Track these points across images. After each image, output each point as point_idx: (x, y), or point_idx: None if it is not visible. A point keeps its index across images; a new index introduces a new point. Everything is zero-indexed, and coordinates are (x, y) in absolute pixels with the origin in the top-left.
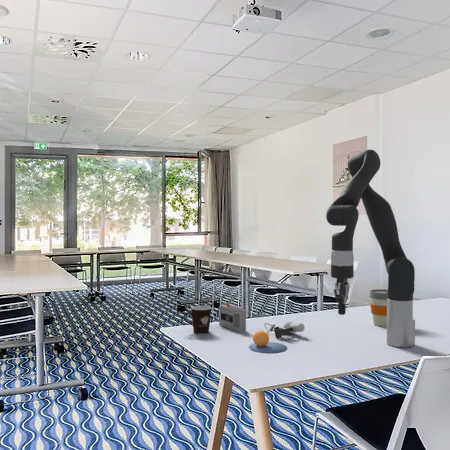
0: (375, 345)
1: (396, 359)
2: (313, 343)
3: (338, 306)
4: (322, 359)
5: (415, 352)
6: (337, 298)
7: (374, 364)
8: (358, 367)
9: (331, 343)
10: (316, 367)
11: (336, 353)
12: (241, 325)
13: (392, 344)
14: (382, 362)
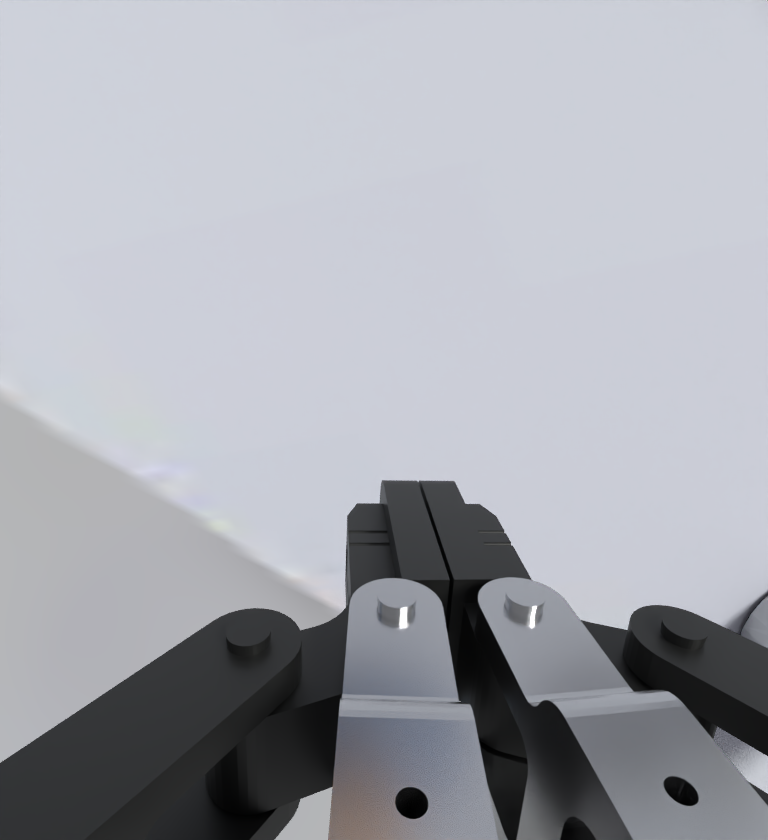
0: (757, 513)
1: None
2: (710, 40)
3: (391, 548)
4: (266, 232)
5: None
6: (174, 734)
7: (322, 568)
8: (210, 497)
9: (745, 205)
10: (41, 233)
11: (470, 302)
12: None
13: (763, 613)
14: None
